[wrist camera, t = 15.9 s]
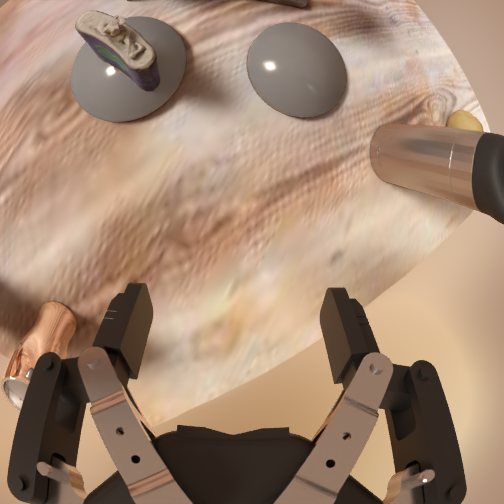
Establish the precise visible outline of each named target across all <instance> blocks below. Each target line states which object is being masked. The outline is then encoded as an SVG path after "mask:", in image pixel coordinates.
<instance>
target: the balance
mask: <svg viewBox="0 0 504 504" xmlns="http://www.w3.org/2000/svg"><path fill="white" fill-rule="evenodd" d="M127 1H129V0H127ZM260 1H266V2H273V3H278V4H284V5H289V6H294V7H298V8H303V7H304V6H306V5H307V0H260Z"/></svg>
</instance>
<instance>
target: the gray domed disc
mask: <svg viewBox="0 0 504 504" xmlns="http://www.w3.org/2000/svg"><path fill="white" fill-rule="evenodd" d="M247 72H248V76H249V79H250V82H251V84H252V86H253V88H254V89H255V91H256V92H257V94H258V95H259V96H260V97H261V99H262V100H263V101H264V102H266V103H267V104H268V105H269V106H271V107H272V108H273V109H275V110H277V111H279V112H281V113H283V114H286V115H289V116H293V117H313V116H318V115H322V114H324V113H326V112H328V111H330V110H331V109H332V108H334V107H335V106H336V105H337V104H338V102H339V101H340V99H341V98H342V96H343V94H344V91H345V87H346V69H345V65H344V62H343V59H342V57H341V55H340V53H339V51H338V50H337V48H336V47H335V45H334V44H333V43H332V42H331V41H330V40H329V39H328V38H327V37H326V36H325V35H323V34H322V33H321V32H319V31H317V30H316V29H314V28H312V27H309V26H307V25H303V24H299V23H281V24H276V25H274V26H271V27H269V28H267V29H266V30H264V31H263V32H262V33H261V34H260V35H259V36H258V37H257V38H256V39H255V40H254V41H253V43H252V45H251V46H250V49H249V51H248V56H247Z"/></svg>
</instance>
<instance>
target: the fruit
mask: <svg viewBox="0 0 504 504" xmlns="http://www.w3.org/2000/svg"><path fill="white" fill-rule="evenodd" d="M447 127H449V128H458V129H467V130H474V131H481V132H484V131H483V127H482V124H481V123H480V122H479V120H478V119H477V118H476V117H474V116H473V115H472V114H471V113H469V112H467V111H464V110H458V111H455V112H454V113H452V114H451V116H450V117H449V119H448V121H447Z"/></svg>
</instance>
